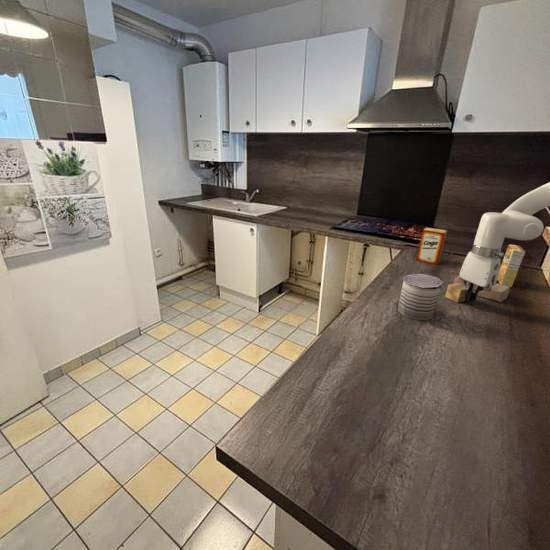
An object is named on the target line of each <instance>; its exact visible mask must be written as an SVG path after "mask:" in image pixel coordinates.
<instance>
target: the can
mask: <svg viewBox="0 0 550 550" xmlns="http://www.w3.org/2000/svg"><path fill="white" fill-rule="evenodd" d="M401 279H402V280H403V281H402V286H401V291H400V296H399V301H398V306H397V311H398V312H399V313H400V314H401V315H402V316H404V317H407V318H409V319H412V320H415V321H416V320H417V321H428V320H431V319H433V318H434V315H435V311H436V308H437V305H438V304H437V303H438V300H439V297H440V293H441V289H442V285H443V284H444V283H445V282H444V281H442V279H440V278H439V277H437V276H433V275H428V274H423V273H420V274H419V273H417V274H415V273H413V274H407V275H406V276H404V277H402V278H401Z"/></svg>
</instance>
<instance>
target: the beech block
mask: <svg viewBox="0 0 550 550" xmlns="http://www.w3.org/2000/svg"><path fill="white" fill-rule="evenodd" d="M465 287H466V286H464V285H462V284H460V283H455V284H454V283H450V284H448V285H447V288H446V292H445V298H446V299H448V300H451V301H453V302H455V303H457V304H458V303H462V302H466V301H465V300H464V299H465V294H466V288H465Z"/></svg>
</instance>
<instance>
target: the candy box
mask: <svg viewBox="0 0 550 550" xmlns="http://www.w3.org/2000/svg"><path fill="white" fill-rule="evenodd" d="M525 255H526V250H525V249H523V247H522V246H521V245H516V244H508V245H507V248H506V251H505V254H504V255H503V260H502V261H501V264H500V269H499V274H498V278H497V281H498V284H501V285H503V286H508V287H510V288H513V285H514V283H515V280H516V277H517V275H518V272H519V270H520V268H521V265H522V262H523V259H524V257H525Z"/></svg>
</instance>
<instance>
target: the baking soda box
mask: <svg viewBox="0 0 550 550" xmlns="http://www.w3.org/2000/svg"><path fill="white" fill-rule="evenodd" d="M447 233H448V230H446V229H440V228H432V227H425V228H423V229H422V232H421V235H420V239H419V245H418V249H417V254H416V259H415V260H417V261H416V262H421V261H422V263H426V262H427V264H430V263H431V264H430V265H435V264H436V266H437V265H438V264H439V263H440V261H441V258H442V255H443V250H444V245H445V241H446V237H447Z"/></svg>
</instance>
